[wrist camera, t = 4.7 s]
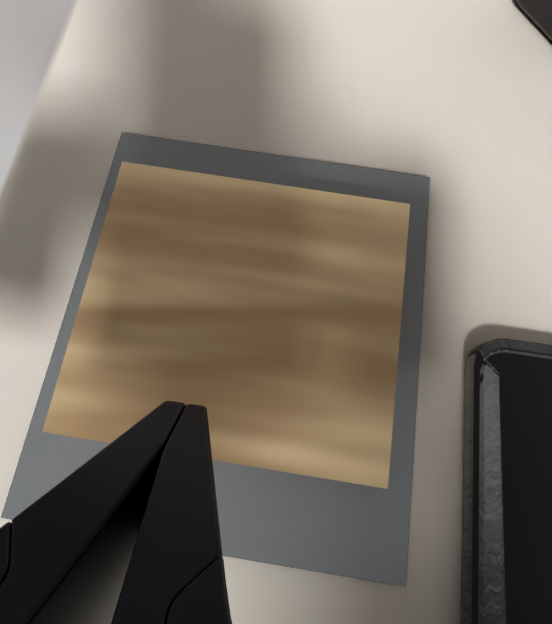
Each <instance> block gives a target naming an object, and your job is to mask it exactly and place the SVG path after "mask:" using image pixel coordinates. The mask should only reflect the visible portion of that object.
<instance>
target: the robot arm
mask: <svg viewBox="0 0 552 624" xmlns="http://www.w3.org/2000/svg"><path fill="white" fill-rule="evenodd" d="M222 555H223V553H222V544H221V535H220V525H219V516H218V507H217V498H216V488H215V479H214V470H213V460H212V451H211V442H210V432H209V423H208V414H207V408H206V407H205V406H201V405H194V404H188V405H185V404H184V403H182V402H175V401H165V402H163V403H162V404H161V405H159V406H158V407H157V408H155V409H154V410H153V411H151V412H150V413H149V414H148V415H146V416H145V417H144V418H142V419H141V420H140V421H138V422H137V423H136V424H135V425H133V426H132V427H131V428H129V429H128V430H127V431H126V432H124V433H123V434H122V435H120V436H119V437H118V438H116V439H115V440H114V441H113V442H111V443H110V444H109V445H107V446H106V447H105V448H103V449H102V450H101V451H100V452H98V453H97V454H96V455H94V456H93V457H92V458H91V459H89V460H88V461H87V462H85V463H84V464H83V465H81V466H80V467H79V468H78V469H76V470H75V471H74V472H72V473H71V474H70V475H69V476H67V477H66V478H65V479H63V480H62V481H61V482H59V483H58V484H57V485H56V486H54V487H53V488H52V489H50V490H49V491H48V492H46V493H45V494H44V495H43V496H41V497H40V498H39V499H37V500H36V501H35V502H34V503H32V504H31V505H30V506H28V507H27V508H26V509H24V510H23V511H22V512H21V513H19V514H18V515H17V516H15V517H14V518H13V519H12V524H11V523H10V522H8V523H6V524H5V525H3V526H2V527H1V528H0V624H232V621H231V615H230V608H229V601H228V594H227V587H226V579H225V570H224V561H223V558H222Z"/></svg>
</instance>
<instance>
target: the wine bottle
mask: <svg viewBox="0 0 552 624" xmlns="http://www.w3.org/2000/svg"><path fill="white" fill-rule="evenodd" d="M516 1H517V3H518V5H519V7H520V8H521V9H522V10H523V11H524V12H525V13H526V14H527V15H528V16H529V17H530V18H531V19H532V20H533V22H534V23H535V24H536V25H537V26H538V27H539V28H540V29H541V30H542V31H543V32H544V33H545V34H546V35H547V36H548V38H549V39H550V40H551V41H552V0H516Z"/></svg>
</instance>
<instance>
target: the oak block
mask: <svg viewBox="0 0 552 624" xmlns="http://www.w3.org/2000/svg"><path fill="white" fill-rule="evenodd" d="M409 213H410V204H407V203H400V202H393V201H386V200H380V199H373V198H366V197H359V196H353V195H346V194H339V193H332V192H326V191H319V190H312V189H305V188H299V187H292V186H285V185H278V184H271V183H265V182H258V181H251V180H244V179H238V178H231V177H224V176H217V175H211V174H204V173H197V172H190V171H184V170H177V169H170V168H163V167H156V166H150V165H143V164H136V163H129V162H123V161H122V163H121V167H120V170H119V173H118V177H117V180H116V184H115V187H114V190H113V194H112V197H111V200H110V204H109V207H108V211H107V214H106V217H105V221H104V224H103V228H102V231H101V234H100V238H99V241H98V244H97V248H96V251H95V255H94V258H93V261H92V265H91V268H90V272H89V275H88V278H87V282H86V285H85V288H84V292H83V295H82V299H81V302H80V305H79V309H78V312H77V316H76V319H75V322H74V326H73V329H72V332H71V336H70V339H69V343H68V346H67V349H66V353H65V356H64V360H63V363H62V366H61V370H60V373H59V376H58V380H57V383H56V387H55V390H54V393H53V397H52V400H51V404H50V407H49V410H48V414H47V417H46V420H45V424H44V427H43V431H42V432H46V433H52V434H58V435H64V436H70V437H76V438H82V439H88V440H94V441H101V442H107V443H111V442H113V441H114V440H115V439H116V438H118V437H119V436H120V435H122V434H123V433H124V432H126V431H127V430H128V429H129V428H131V427H132V426H133V425H135V424H136V423H137V422H138V421H140V420H141V419H142V418H144V417H145V416H146V415H148V414H149V413H150V412H151V411H153V410H154V409H155V408H157V407H158V406H159V405H161V404H162V403H163V402H165V401H175V402H182V403H184V404H185V405H188V404H194V405H201V406H205V407H206V408H207V414H208V423H209V432H210V442H211V451H212V460H216V461H222V462H228V463H234V464H240V465H246V466H252V467H258V468H264V469H270V470H276V471H282V472H288V473H294V474H300V475H306V476H312V477H318V478H325V479H331V480H337V481H343V482H349V483H355V484H361V485H367V486H373V487H379V488H385V489H388V480H389V468H390V455H391V442H392V429H393V417H394V404H395V391H396V378H397V366H398V353H399V340H400V327H401V315H402V302H403V289H404V276H405V264H406V251H407V238H408V225H409Z"/></svg>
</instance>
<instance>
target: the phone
mask: <svg viewBox="0 0 552 624" xmlns="http://www.w3.org/2000/svg"><path fill="white" fill-rule="evenodd" d="M461 624H552V345H545V344H538V343H531V342H525V341H518V340H511V339H494V340H492V341H489V342H486V343H484V344H481V345H479V346H477V347H476V348H475V349H473V350H472V351H471V352H470V354H469V356H468V358H467V360H466V366H465V400H464V457H463V515H462V573H461Z"/></svg>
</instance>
